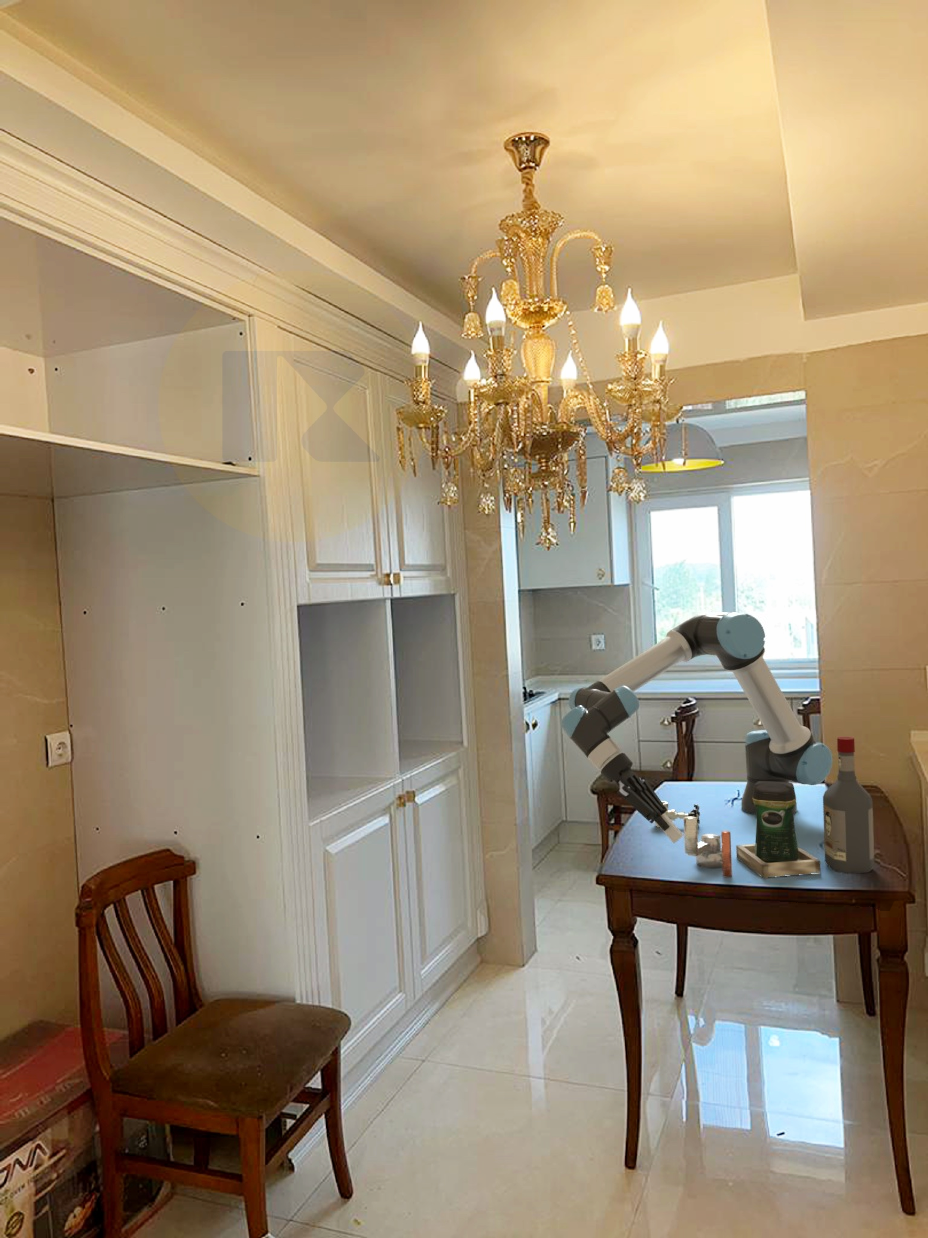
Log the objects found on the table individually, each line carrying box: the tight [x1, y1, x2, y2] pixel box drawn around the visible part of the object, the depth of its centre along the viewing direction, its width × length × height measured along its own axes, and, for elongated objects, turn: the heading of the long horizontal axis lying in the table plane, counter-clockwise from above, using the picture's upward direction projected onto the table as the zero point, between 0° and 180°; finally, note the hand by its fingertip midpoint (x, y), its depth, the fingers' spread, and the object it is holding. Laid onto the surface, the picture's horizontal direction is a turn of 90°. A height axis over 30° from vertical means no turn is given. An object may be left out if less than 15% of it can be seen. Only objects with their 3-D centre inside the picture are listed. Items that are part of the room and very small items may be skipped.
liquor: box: [822, 736, 875, 875], centre depth 207 cm, size 9×9×30 cm
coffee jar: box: [753, 781, 799, 863], centre depth 211 cm, size 10×8×19 cm
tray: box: [735, 843, 822, 879], centre depth 212 cm, size 13×15×3 cm
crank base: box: [695, 830, 733, 878], centre depth 212 cm, size 7×14×10 cm, turn 5°
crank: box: [683, 816, 722, 857], centre depth 212 cm, size 13×4×10 cm, turn 136°
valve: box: [654, 800, 701, 830], centre depth 247 cm, size 7×7×12 cm
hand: (678, 839), depth 209 cm, fingers closed
